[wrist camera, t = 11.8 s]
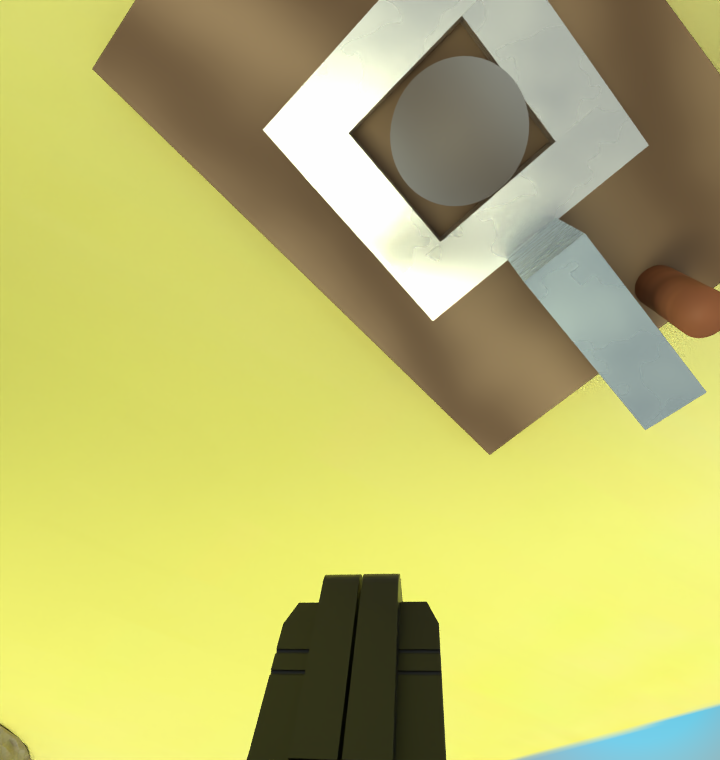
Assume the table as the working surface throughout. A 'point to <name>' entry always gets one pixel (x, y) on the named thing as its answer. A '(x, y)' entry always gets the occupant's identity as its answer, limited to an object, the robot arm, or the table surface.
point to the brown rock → (12, 747)
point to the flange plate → (511, 202)
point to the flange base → (501, 314)
